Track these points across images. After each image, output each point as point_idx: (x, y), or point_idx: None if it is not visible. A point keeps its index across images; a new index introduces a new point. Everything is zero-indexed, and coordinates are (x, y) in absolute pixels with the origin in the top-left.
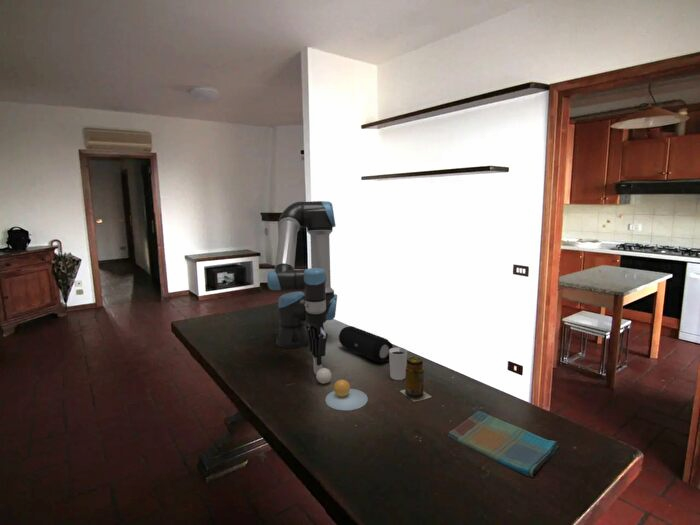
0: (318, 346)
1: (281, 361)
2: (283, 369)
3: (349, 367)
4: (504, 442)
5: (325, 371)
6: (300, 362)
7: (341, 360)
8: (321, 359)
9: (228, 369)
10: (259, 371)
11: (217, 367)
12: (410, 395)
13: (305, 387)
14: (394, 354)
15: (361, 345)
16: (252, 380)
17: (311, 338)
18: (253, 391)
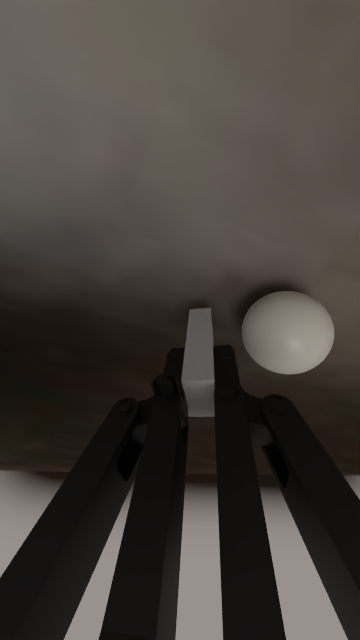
0: (318, 565)
1: (15, 371)
2: (86, 384)
3: (168, 53)
4: None
5: (324, 354)
6: (30, 322)
7: (19, 67)
8: (237, 372)
9: (57, 461)
10: (84, 427)
11: (42, 469)
12: None
13: (259, 374)
14: None
15: None
16: None
17: (81, 569)
18: (196, 458)
